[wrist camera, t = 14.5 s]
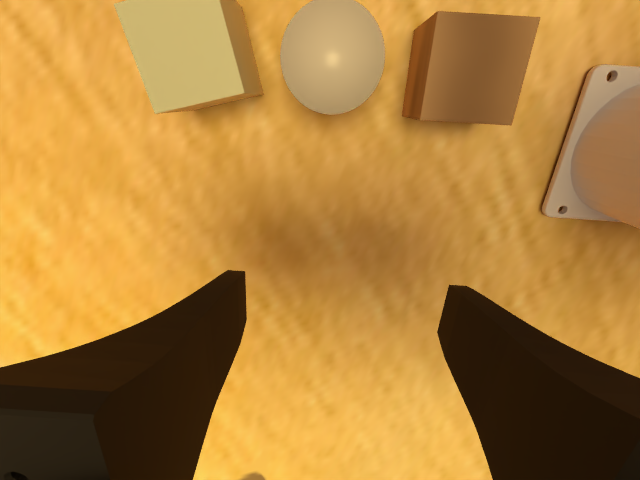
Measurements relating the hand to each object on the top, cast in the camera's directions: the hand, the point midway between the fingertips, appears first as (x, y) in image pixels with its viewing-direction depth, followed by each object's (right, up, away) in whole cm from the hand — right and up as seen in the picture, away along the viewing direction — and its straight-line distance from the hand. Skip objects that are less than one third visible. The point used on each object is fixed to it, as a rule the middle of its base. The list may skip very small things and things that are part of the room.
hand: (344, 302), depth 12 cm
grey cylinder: (0, +11, +6) cm, 12 cm away
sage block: (-6, +12, +6) cm, 14 cm away
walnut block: (+6, +11, +6) cm, 13 cm away
